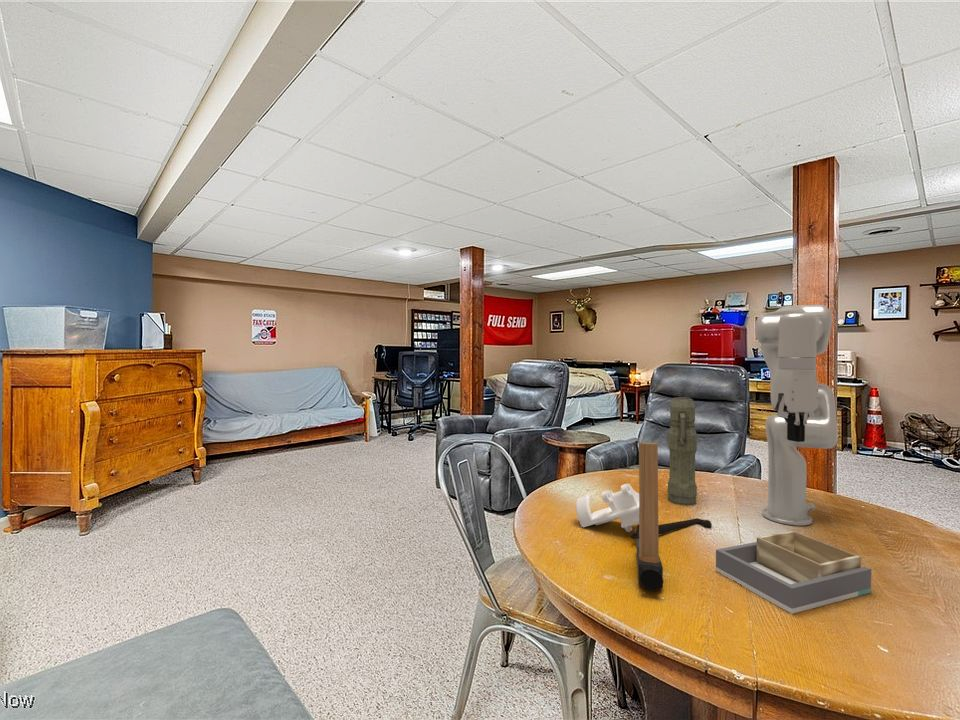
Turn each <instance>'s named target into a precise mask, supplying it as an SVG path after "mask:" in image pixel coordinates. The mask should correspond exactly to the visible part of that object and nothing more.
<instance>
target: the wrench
mask: <svg viewBox="0 0 960 720" xmlns="http://www.w3.org/2000/svg"><path fill="white" fill-rule="evenodd" d="M695 525H699V526H703V527H704V528H706V529H710V528H712V526H713V525H712V521H710V520H709V519H703V518H702V519H701V518H696V517H695V518H691V519H687V520H680V521H674V522H669V523H668V522H667V523H663V524H658V535H659V536H662V535H664V534H667V533H671V532H673V531H676V530H680V529H683V528H687V527H691V526H695ZM630 538H631V539H633V540H636V539H639V523H638V524H636V529H635V531H634V532H632V533H631V534H630Z"/></svg>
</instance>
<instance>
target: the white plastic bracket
mask: <svg viewBox="0 0 960 720" xmlns="http://www.w3.org/2000/svg"><path fill="white" fill-rule="evenodd" d="M591 498H592V495H591V494H590V493H585V494H584V495H581V496H578V497H577V499H576V502H575V511H576V516H577V519H578V522H579V524H580V526H581V528H582V527H583V528H586V527H590V526H593V525H595V526H599V525H603V524H605V523H609V522H613V521H616V520H620V522H621V523H620V527H621V528H622V529H625V532H627V533H630V532H632V531H633V528H632V526H635V525H638V524H639V492H637V491H636V490H635V489H634V488H633V487H632V485H631V484H630V483H624V484H622V485H621V486H620V490H619V491H617V492H613V491H612V490H611V489H607V490H604V491H602V492H601V499H602V500H603V502H604V503H605V504H608V505H609V506H607V507H605V508H602V509H599V510H595V511H593V512H592V510H591V506H590V505H591V504H590V503H591V502H590V500H591Z"/></svg>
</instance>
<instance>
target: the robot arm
mask: <svg viewBox="0 0 960 720" xmlns="http://www.w3.org/2000/svg"><path fill="white" fill-rule="evenodd" d="M832 325H833V316H832V312H831V310H830V308H828V307H827V306H826V305H824V304H803V305H802V304H801V305H800V304H797V305H786V306H782V307H780V308H778V309H776V310H775V311H770V312H765V313H761V314H759V315H758V316H757V318H756V321H755V326H754V333H755V338H756V340H757V342H758V343H759V344H760V347H761V353H762V357H763V360H764V362H765V363H766V366H767V368H768V370H769V378H770V381H769V382H770V384H769V385H770V389H769V390H770V403H771V409H772V411H776V412H777V413H775V414H772V415H769V416H768V417H767V419H766V421H765V425H764V426H765V434H766V435H765V436H766V441H767V451H768V452H767V453H768V455H767V456H768V463H767V464H768V465H767V466H768V467H767V470H768V471H767V472H768V473H767V474H768V476H767V478H768V479H767V484H768V485H767V488H768V489H767V507H765V508H763V509H761V515H762V516H763V517H764V518H766V519H767V520H769V521H772V522H775V523H779V524H783V525H790V526H798V527H799V526H809V525H811V524H813V517H812V516H810V515H809V514H808V512H809V511H814V510H816V507H817V506H816V505H815V504H814V503H807V474H808V473H807V472H808V471H807V470H808V469H807V467H808V466H807V461H806V459H805V458H804V457H805V456H803V455H802V454H801V452H800V451H799V450H798V449H797V448H809V449H810V448H811V449H822V450H823V449H824V450H826V449H827V450H828V449H833V448H835V447H836V445H837V444H838V439H839V432H838V431H839V430H838V420H837V419H838V418H837V409H836V407H837V406H836V401H835V395H834V391H833V390H832V388H831V386H829V385H827V384H824V383H819V382H818V376H817V356H818V355H822V354H823V353H825V352H826V351H827V348H828V346H829V342H830V336H831V331H832V327H833V326H832Z"/></svg>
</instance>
